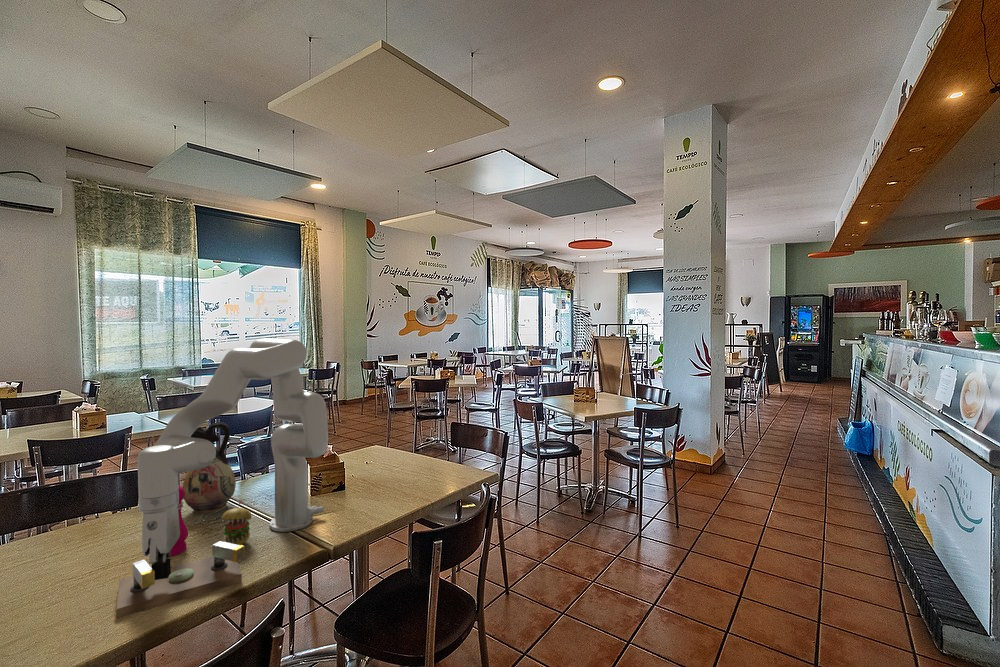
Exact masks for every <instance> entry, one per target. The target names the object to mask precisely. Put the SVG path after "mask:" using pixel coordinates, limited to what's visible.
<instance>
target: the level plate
mask: <svg viewBox="0 0 1000 667" xmlns="http://www.w3.org/2000/svg"><path fill="white" fill-rule="evenodd" d="M170 567H171V574H170V575H169V577H168V578H166V579H159V580H155V585H152V586H149V587H146V588H143V589H142V588H139V589H134V579H133V577H134V576H133V575H132V576H130V577H126V578H123V579H119V581H118V582H119V583H118V592H117V599H116V600H117V601H116V619H119V618H121V617H125V616H128V615H131V614H132V615H133V614H135V613H139V612H143V611H146V610H150V609H152V608H156V607H160V606H164V605H167V604H171V603H173V602H177V601H180V600H184V599H187V598H191V597H195V596H198V595H201V594H205V593H209V592H212V591H215V590H219V589H221V588H226V587H230V586H232V585H236V584H240V583H242V576H243V575H242V572H241V568H240V565H239V563H238V562H233V561H229V560H225V565H224V566H222V567H214V557H212V556H210V557H206V558H202V559H198V560H194V561H190V562H185V563H181V564H178V565H174V566H170Z"/></svg>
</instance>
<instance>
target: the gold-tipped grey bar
mask: <svg viewBox="0 0 1000 667" xmlns="http://www.w3.org/2000/svg"><path fill="white" fill-rule="evenodd" d="M211 546H212V547H211V548H212V550H211V551H212V552H211V553H212V555H211V557H214V567H222V566H224V565H225V560H229V561H233V562H237V563H238V562H240V561H242V560H243V559H245V545H236V544H231V543H227V542H223V540H222V541H221V540H219V541H217V542H215V543H213V544H212V545H211Z"/></svg>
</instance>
